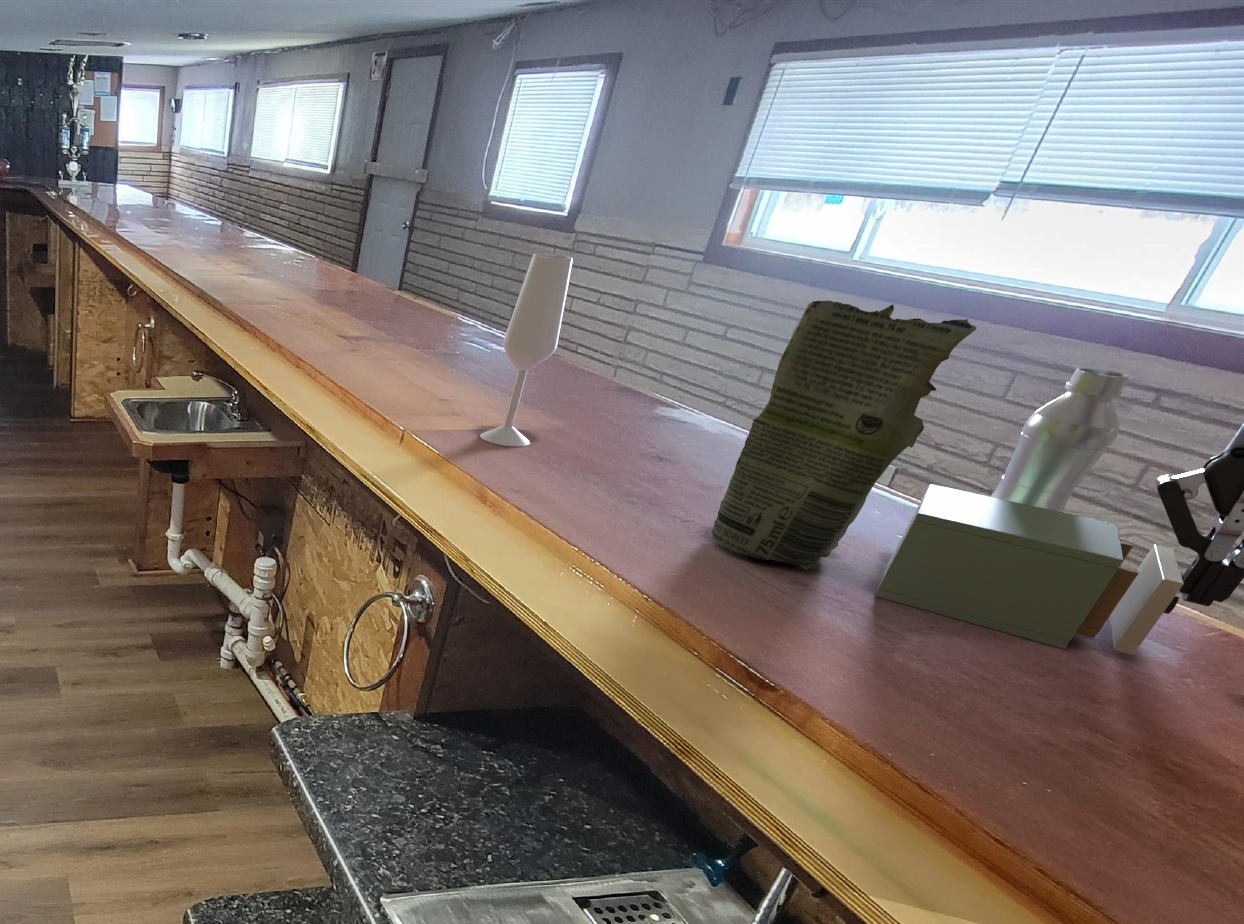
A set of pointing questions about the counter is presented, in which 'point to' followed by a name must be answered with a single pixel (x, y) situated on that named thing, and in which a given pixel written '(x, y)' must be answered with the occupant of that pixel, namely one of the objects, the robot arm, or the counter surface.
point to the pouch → (830, 429)
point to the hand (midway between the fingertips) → (1194, 600)
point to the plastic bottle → (1063, 441)
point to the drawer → (1136, 598)
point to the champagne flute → (533, 331)
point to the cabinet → (1002, 564)
